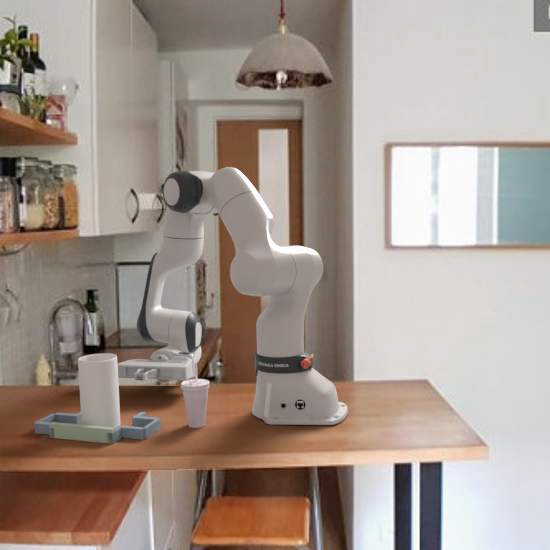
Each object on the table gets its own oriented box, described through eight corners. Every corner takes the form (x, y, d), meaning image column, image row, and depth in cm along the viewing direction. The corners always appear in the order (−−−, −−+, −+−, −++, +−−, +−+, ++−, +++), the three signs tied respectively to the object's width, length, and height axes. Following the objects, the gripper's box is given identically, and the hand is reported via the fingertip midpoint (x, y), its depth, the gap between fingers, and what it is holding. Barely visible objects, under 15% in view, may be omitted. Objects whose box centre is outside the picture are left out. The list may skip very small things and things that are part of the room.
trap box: (168, 423, 128) (167, 410, 127) (136, 446, 115) (135, 431, 114) (68, 415, 135) (68, 402, 135) (28, 435, 122) (27, 421, 122)
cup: (106, 436, 121) (102, 362, 119) (73, 433, 123) (69, 360, 122) (127, 423, 128) (124, 354, 127) (97, 420, 131) (93, 352, 130)
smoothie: (216, 421, 128) (213, 360, 127) (203, 431, 122) (201, 367, 121) (190, 419, 130) (188, 359, 129) (177, 428, 124) (174, 365, 123)
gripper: (131, 351, 157) (102, 363, 143) (199, 353, 151) (175, 366, 137) (132, 374, 157) (103, 387, 144) (200, 377, 151) (176, 391, 138)
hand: (139, 377), depth 141 cm, fingers closed
